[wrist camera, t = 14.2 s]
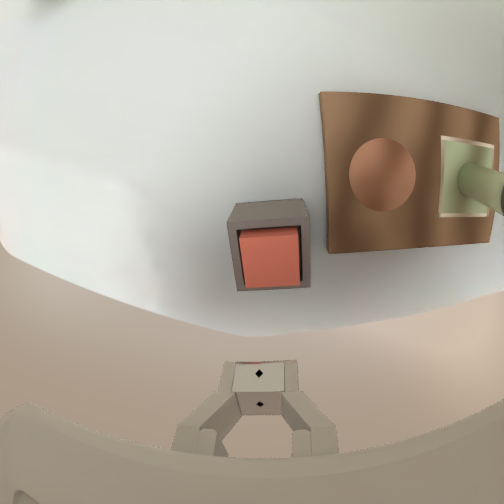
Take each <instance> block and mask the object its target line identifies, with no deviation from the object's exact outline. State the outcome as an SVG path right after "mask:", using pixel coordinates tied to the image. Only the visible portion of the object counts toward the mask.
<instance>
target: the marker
mask: <svg viewBox="0 0 504 504" xmlns="http://www.w3.org/2000/svg"><path fill="white" fill-rule="evenodd" d="M457 182H458V187H459V190H460V192H461V193H462V194H463V195H465V196H467V197H469V198H471V199H473V200H475V201H477V202H479V203H481V204H483V205H485V206H487V207H489V208H491V209H492V210H494V211H496V212H498V213H500V214H502V215H503V216H504V173H502V172H499V171H496V170H493V169H490V168H487V167H483V166H480V165H477V164H473V163H465V164H464V165H463V166H462V167H461V168H460V170H459V173H458V178H457Z"/></svg>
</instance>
